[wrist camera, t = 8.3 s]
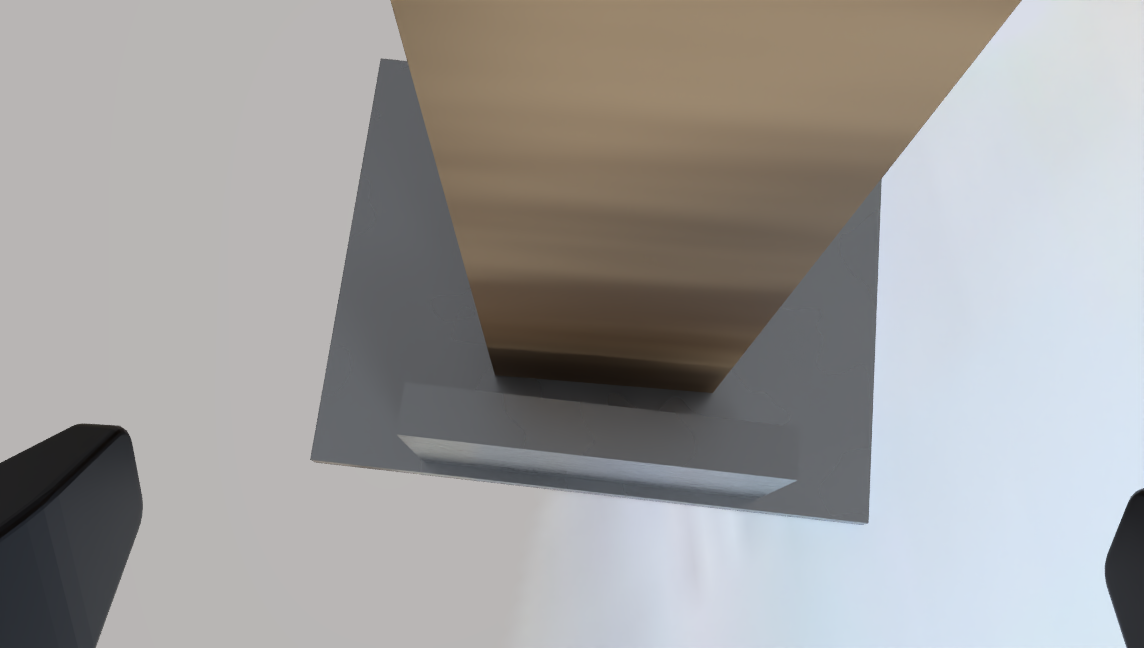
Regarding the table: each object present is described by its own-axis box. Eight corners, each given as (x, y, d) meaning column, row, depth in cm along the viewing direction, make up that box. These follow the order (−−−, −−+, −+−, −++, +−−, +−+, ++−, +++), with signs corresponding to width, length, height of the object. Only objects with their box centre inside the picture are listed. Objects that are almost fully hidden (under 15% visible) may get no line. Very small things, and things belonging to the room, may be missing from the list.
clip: (862, 524, 19) (932, 509, 15) (315, 462, 19) (260, 432, 15) (877, 122, 21) (942, 27, 17) (383, 68, 21) (349, -37, 17)
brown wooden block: (713, 392, 19) (1028, -8, 6) (494, 375, 19) (374, -59, 6) (722, 189, 20) (1008, -507, 7) (515, 172, 20) (446, -551, 7)
